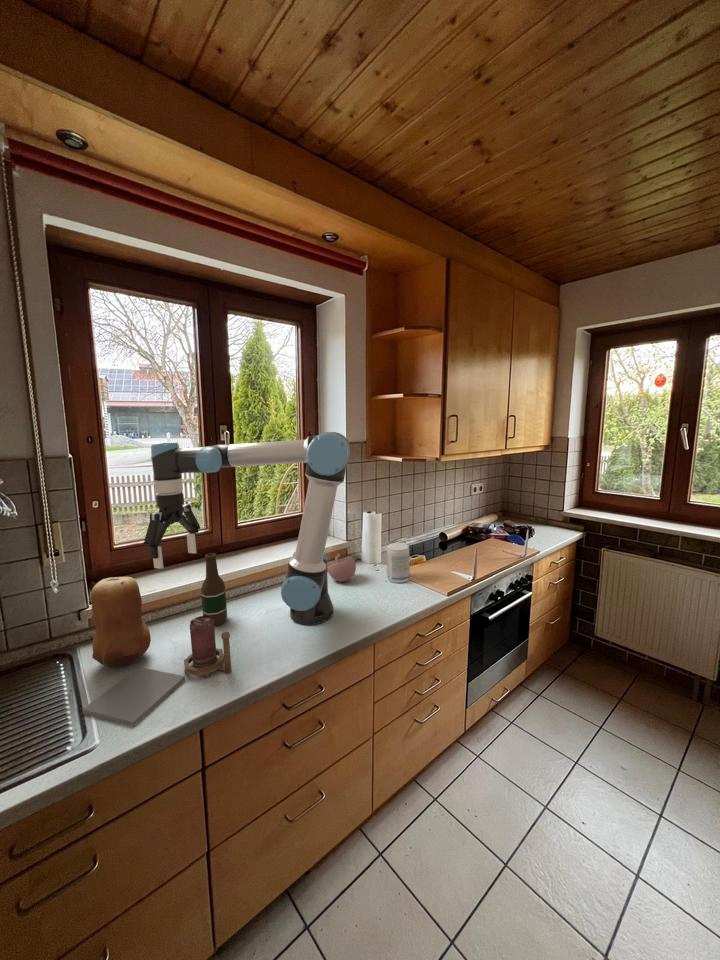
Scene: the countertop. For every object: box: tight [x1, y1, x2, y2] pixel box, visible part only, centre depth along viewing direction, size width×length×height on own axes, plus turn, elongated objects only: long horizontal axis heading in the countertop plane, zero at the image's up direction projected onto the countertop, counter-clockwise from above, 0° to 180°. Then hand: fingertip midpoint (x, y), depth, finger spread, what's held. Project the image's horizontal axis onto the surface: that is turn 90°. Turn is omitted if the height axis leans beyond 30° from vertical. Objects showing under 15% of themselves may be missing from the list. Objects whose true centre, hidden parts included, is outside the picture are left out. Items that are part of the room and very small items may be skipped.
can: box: [189, 615, 218, 669], centre depth 104 cm, size 6×6×14 cm
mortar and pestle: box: [327, 553, 357, 583], centre depth 161 cm, size 12×12×11 cm
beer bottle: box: [200, 552, 228, 628], centre depth 128 cm, size 8×8×24 cm
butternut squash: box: [90, 576, 152, 668], centre depth 106 cm, size 14×13×25 cm
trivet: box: [81, 666, 186, 727], centre depth 94 cm, size 15×16×1 cm
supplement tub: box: [386, 542, 411, 584], centre depth 161 cm, size 10×10×15 cm
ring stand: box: [183, 631, 232, 679], centre depth 104 cm, size 14×10×12 cm
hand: (176, 560), depth 118 cm, fingers open, 13 cm apart
